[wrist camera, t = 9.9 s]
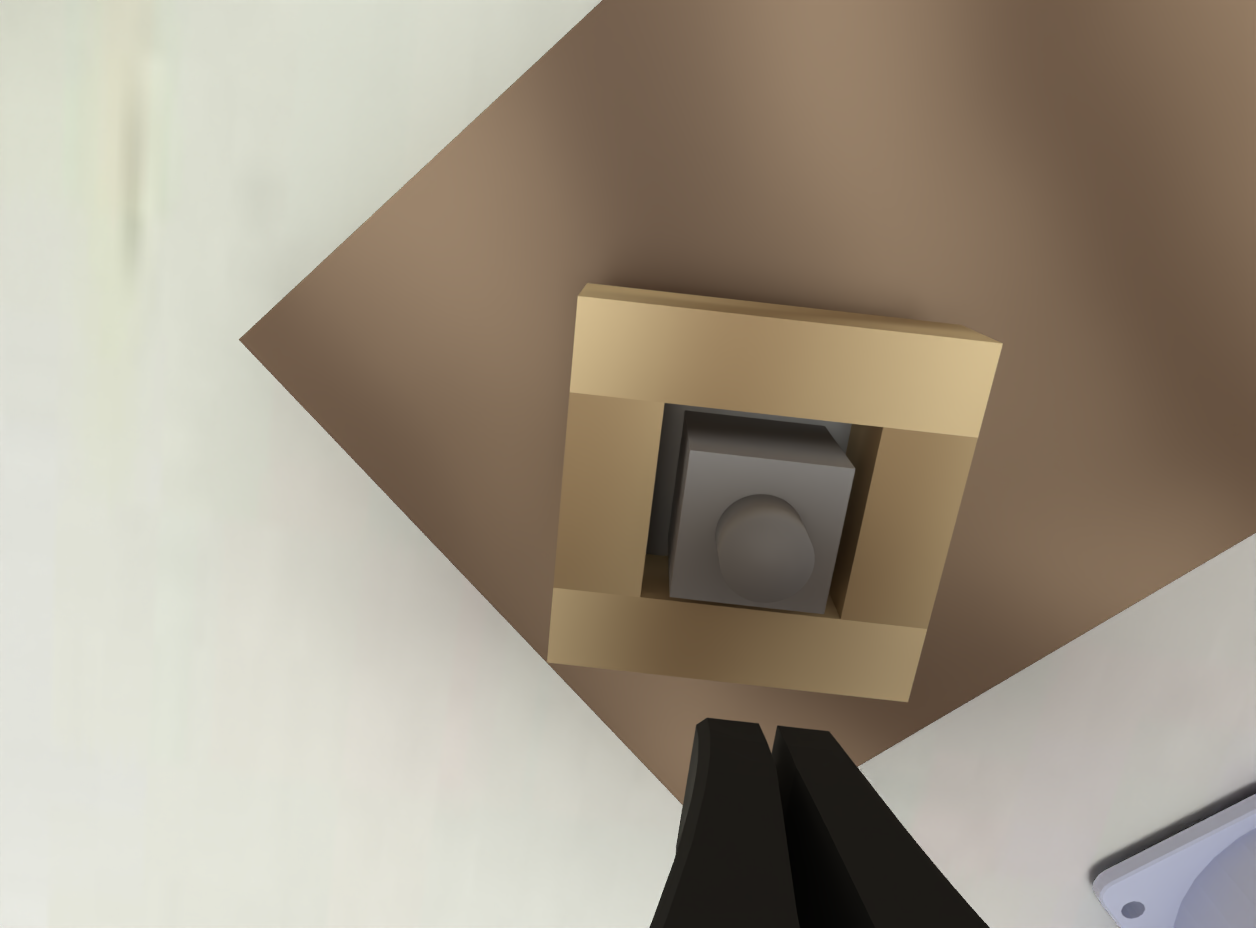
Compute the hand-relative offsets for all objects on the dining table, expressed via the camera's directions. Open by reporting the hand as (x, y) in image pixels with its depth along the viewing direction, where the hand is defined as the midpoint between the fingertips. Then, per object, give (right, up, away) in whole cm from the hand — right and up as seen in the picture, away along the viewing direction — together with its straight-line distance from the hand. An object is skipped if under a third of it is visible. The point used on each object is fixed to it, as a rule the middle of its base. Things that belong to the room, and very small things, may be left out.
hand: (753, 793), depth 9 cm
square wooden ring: (0, +4, +3) cm, 5 cm away
